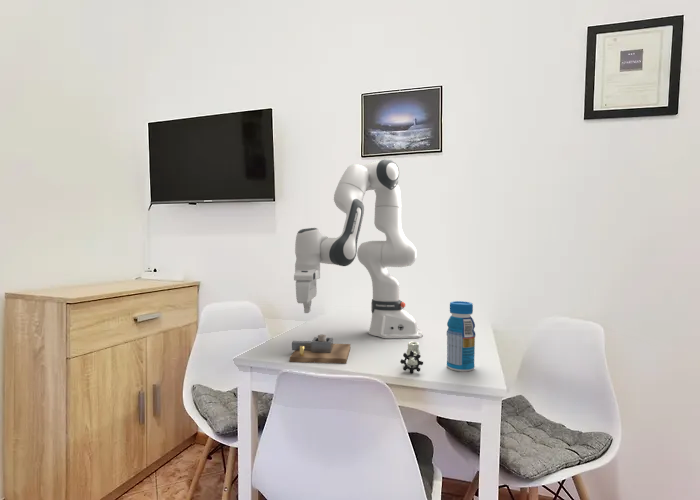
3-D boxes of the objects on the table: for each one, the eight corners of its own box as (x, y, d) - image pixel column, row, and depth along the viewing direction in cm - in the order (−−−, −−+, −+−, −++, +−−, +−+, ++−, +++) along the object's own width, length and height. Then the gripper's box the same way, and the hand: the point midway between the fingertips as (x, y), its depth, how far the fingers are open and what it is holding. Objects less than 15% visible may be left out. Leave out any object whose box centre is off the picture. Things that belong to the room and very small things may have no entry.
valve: (403, 361, 127) (400, 373, 115) (403, 340, 126) (400, 350, 115) (423, 362, 125) (423, 374, 113) (424, 342, 125) (423, 352, 113)
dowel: (304, 359, 127) (304, 345, 127) (303, 361, 125) (303, 347, 125) (300, 359, 127) (300, 345, 127) (299, 360, 125) (299, 346, 125)
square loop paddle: (332, 347, 136) (332, 337, 136) (330, 353, 129) (330, 342, 129) (294, 346, 137) (294, 336, 137) (290, 351, 130) (290, 341, 130)
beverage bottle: (444, 370, 117) (445, 303, 117) (447, 362, 125) (448, 299, 125) (474, 374, 114) (475, 305, 114) (475, 365, 122) (476, 301, 122)
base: (350, 348, 141) (350, 330, 141) (346, 363, 123) (346, 342, 123) (301, 346, 142) (301, 329, 142) (289, 361, 124) (289, 341, 124)
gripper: (304, 271, 150) (303, 307, 150) (292, 275, 129) (292, 317, 129) (320, 271, 149) (320, 307, 149) (311, 276, 129) (311, 318, 129)
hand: (307, 312), depth 139 cm, fingers closed
